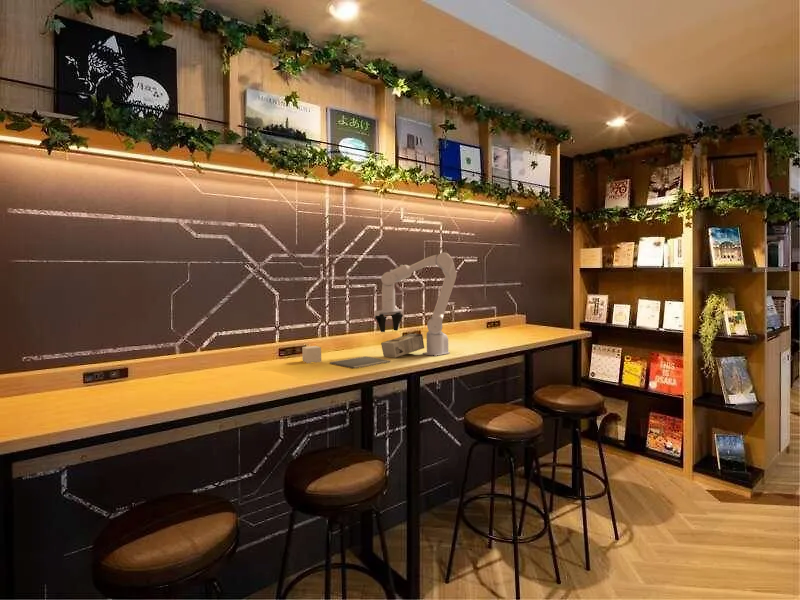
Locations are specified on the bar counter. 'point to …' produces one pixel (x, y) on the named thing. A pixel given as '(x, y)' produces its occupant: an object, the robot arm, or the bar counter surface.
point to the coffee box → (402, 345)
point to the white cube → (311, 354)
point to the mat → (359, 362)
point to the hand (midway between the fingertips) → (389, 331)
